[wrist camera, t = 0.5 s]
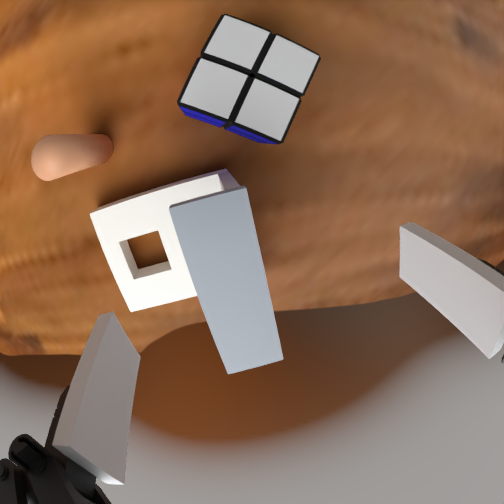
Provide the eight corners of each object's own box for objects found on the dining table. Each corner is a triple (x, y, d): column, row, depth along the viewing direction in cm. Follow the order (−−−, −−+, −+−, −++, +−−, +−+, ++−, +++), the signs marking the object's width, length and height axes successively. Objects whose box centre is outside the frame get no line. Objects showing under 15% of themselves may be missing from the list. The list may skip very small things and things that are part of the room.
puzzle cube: (182, 114, 30) (175, 104, 21) (216, 43, 27) (222, 11, 18) (260, 143, 33) (283, 146, 24) (291, 74, 30) (323, 55, 21)
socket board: (96, 203, 32) (28, 257, 16) (225, 164, 33) (246, 187, 17) (136, 303, 38) (110, 394, 22) (251, 273, 39) (283, 359, 24)
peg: (82, 140, 28) (27, 146, 17) (109, 129, 29) (61, 127, 17) (90, 168, 30) (37, 187, 18) (116, 158, 30) (72, 171, 18)
